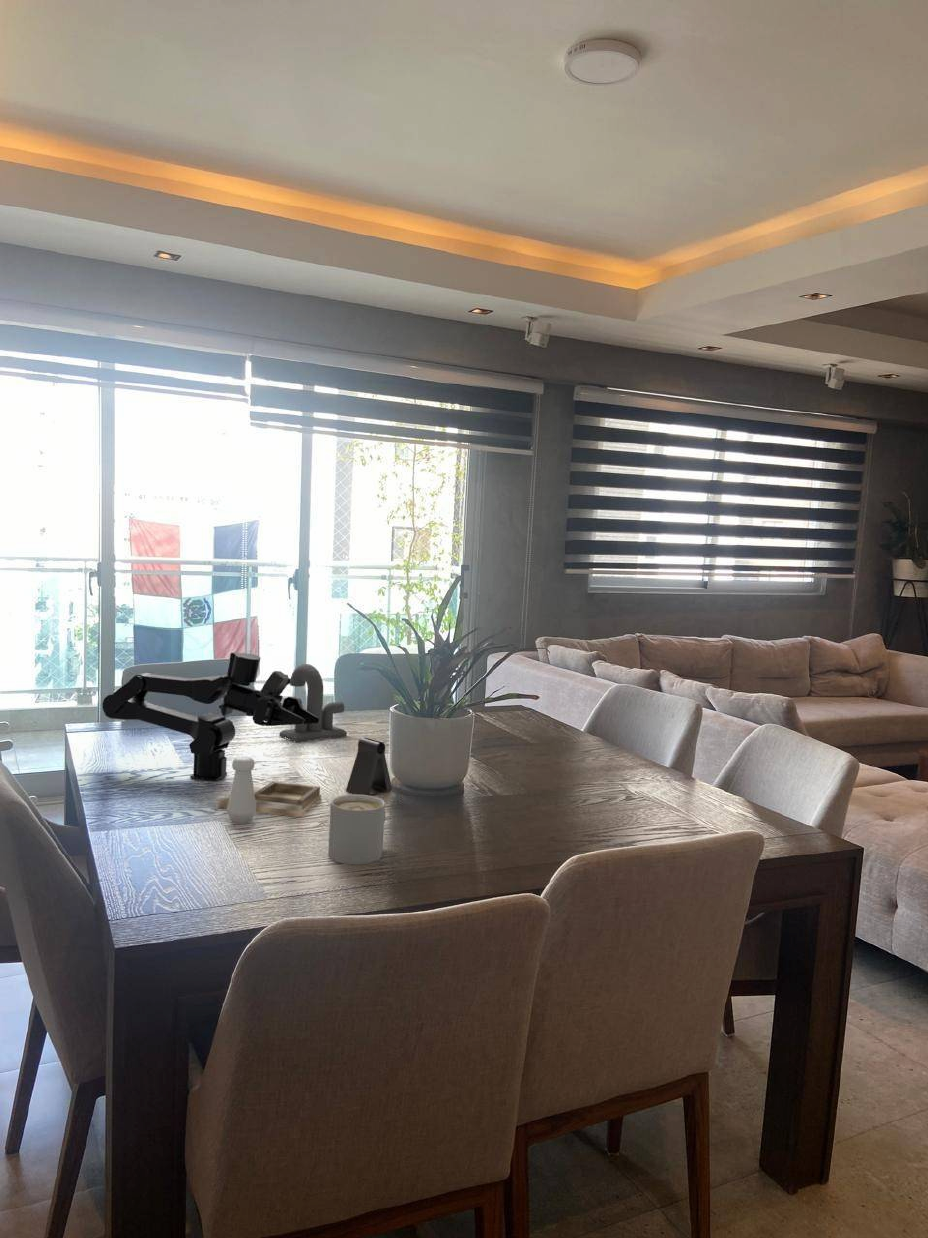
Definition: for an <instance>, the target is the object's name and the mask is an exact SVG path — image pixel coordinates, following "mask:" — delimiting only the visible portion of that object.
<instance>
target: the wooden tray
mask: <svg viewBox="0 0 928 1238" xmlns="http://www.w3.org/2000/svg"><path fill="white" fill-rule="evenodd" d="M253 787H254V794H255V801H256V808H257V809H256V812H255V813H264V814H269V815H270V814H273V815H279V816H280V815H281V816H288V817H295V818H300V817H302V816H303V815H304V814H306V813H307V812H308V811H309V810H311V808H313V807H314V806H316V804H318V803H319V802H320V801H322V800H321V799H322V795H321V793H320V791H321V790H320V789H321V786H317V785H308V784H307V785H306V784H298V783H289V782H279V781H273V780H272V781H271V782H269V783H267V784H266V785H265V786H263V787H262V786H261V787H259V786H253ZM229 798H230V794H228V795H220V796H218V799H217V800H218V806H217V808H220V807H222V809H223V808H224V809H227V806H228V802H229ZM318 801H319V802H318ZM317 802H318V803H317ZM313 805H314V806H313ZM312 806H313V807H312ZM307 810H308V811H307ZM306 811H307V812H306Z"/></svg>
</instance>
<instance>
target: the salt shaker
mask: <svg viewBox="0 0 928 1238" xmlns="http://www.w3.org/2000/svg"><path fill="white" fill-rule="evenodd" d="M231 763H232V764H231V766H232V767H231V768H232V769H233V770H234V777H233V781H232V785H231V789H230V794H229V795H230V798H229V802H228V806H227V808H226V813H227V815H228V817H229V819H230V821H231V823H232V824H237V825H244V824H249V823H251V822H252V821H253V819H254V816H255V814H256V813H257V812H256V809H257V808H256V801H255V794H254V787H255V786H254V783H253V774H252V771H253V770H254V768H255V760H254V759H253V758H252V757H251V756H244V755H243V756H237V757H235V758H233V760H232V762H231Z"/></svg>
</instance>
